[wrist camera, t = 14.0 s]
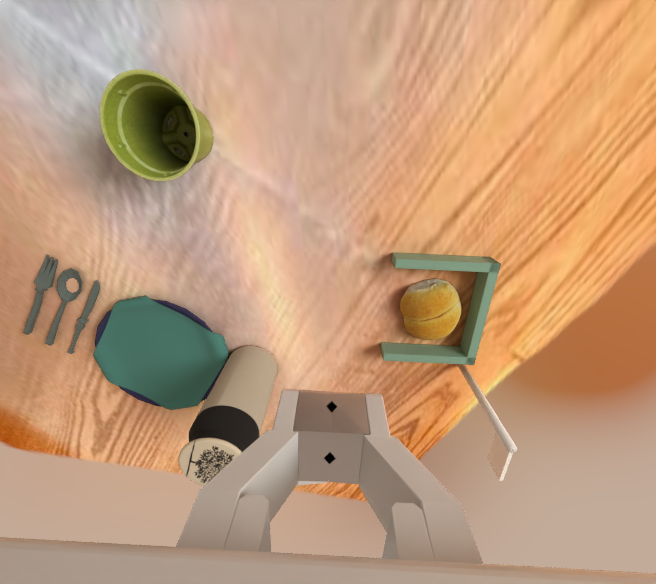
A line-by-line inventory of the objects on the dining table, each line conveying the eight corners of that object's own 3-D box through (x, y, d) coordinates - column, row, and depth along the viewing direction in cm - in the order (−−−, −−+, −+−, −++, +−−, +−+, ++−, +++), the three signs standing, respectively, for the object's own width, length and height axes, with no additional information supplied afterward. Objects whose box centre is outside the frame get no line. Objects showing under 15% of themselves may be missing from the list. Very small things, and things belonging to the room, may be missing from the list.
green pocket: (392, 252, 43) (421, 301, 28) (490, 257, 43) (571, 308, 28) (376, 384, 51) (392, 475, 37) (457, 388, 51) (505, 480, 36)
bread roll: (407, 339, 48) (413, 354, 44) (394, 287, 45) (399, 299, 41) (462, 325, 47) (473, 339, 43) (452, 271, 44) (463, 281, 40)
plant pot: (241, 121, 37) (215, 111, 29) (208, 191, 40) (176, 199, 32) (167, 70, 35) (117, 44, 27) (138, 148, 38) (86, 145, 30)
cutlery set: (198, 417, 56) (192, 427, 54) (25, 334, 50) (11, 342, 48) (249, 336, 49) (245, 344, 47) (57, 230, 43) (42, 234, 41)
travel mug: (285, 357, 50) (260, 455, 33) (266, 392, 53) (234, 499, 36) (238, 336, 48) (187, 428, 32) (221, 373, 51) (166, 476, 35)
